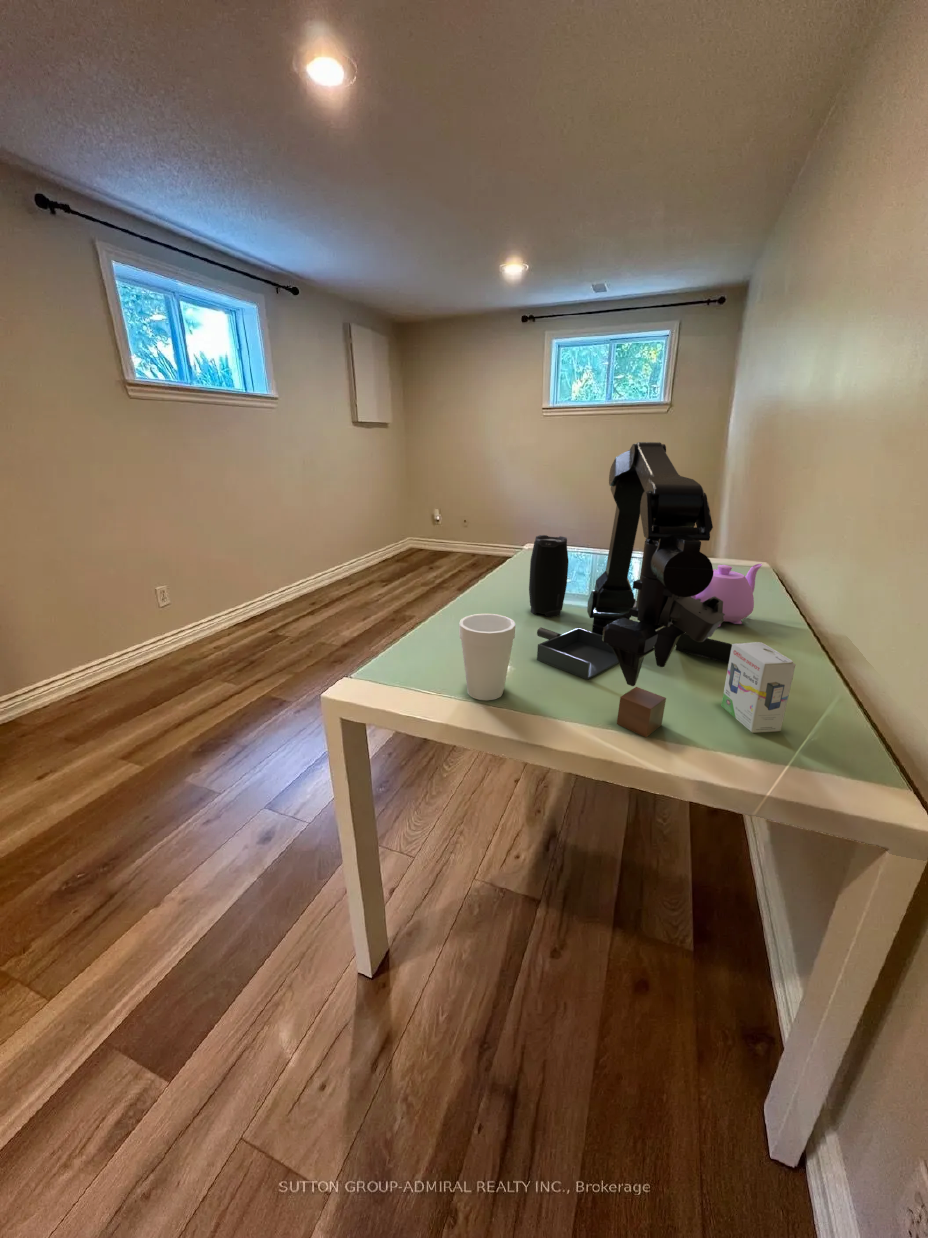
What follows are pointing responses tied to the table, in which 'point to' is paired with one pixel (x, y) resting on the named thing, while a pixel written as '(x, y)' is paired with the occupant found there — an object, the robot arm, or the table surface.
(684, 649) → the handheld gaming console
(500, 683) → the foam cup
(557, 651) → the tray
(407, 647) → the table surface
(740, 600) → the teapot
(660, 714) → the block
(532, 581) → the portable speaker
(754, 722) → the ink box
